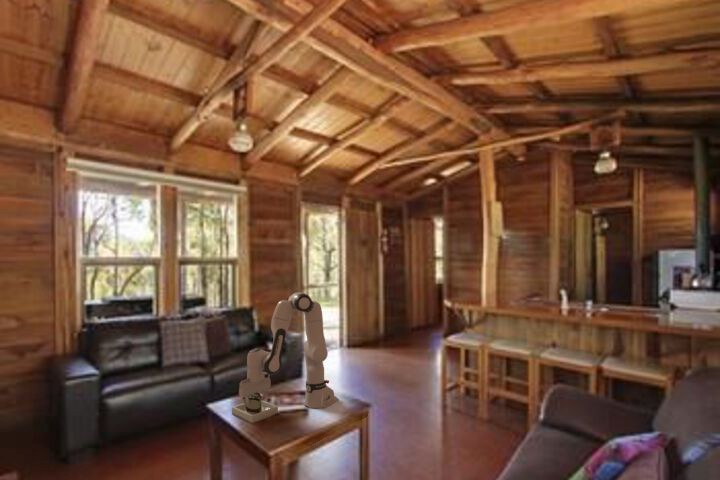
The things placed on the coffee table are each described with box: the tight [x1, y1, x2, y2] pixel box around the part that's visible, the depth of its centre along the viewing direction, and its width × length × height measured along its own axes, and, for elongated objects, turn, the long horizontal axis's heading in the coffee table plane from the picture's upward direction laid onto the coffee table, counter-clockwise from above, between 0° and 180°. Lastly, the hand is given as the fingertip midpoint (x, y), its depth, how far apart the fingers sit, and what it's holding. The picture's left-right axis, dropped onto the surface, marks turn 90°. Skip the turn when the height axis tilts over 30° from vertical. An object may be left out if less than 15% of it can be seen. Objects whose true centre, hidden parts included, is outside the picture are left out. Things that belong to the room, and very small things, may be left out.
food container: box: [241, 392, 263, 413], centre depth 244 cm, size 12×6×10 cm, turn 71°
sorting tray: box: [231, 399, 279, 424], centre depth 243 cm, size 18×20×4 cm
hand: (255, 400), depth 243 cm, fingers open, 8 cm apart
